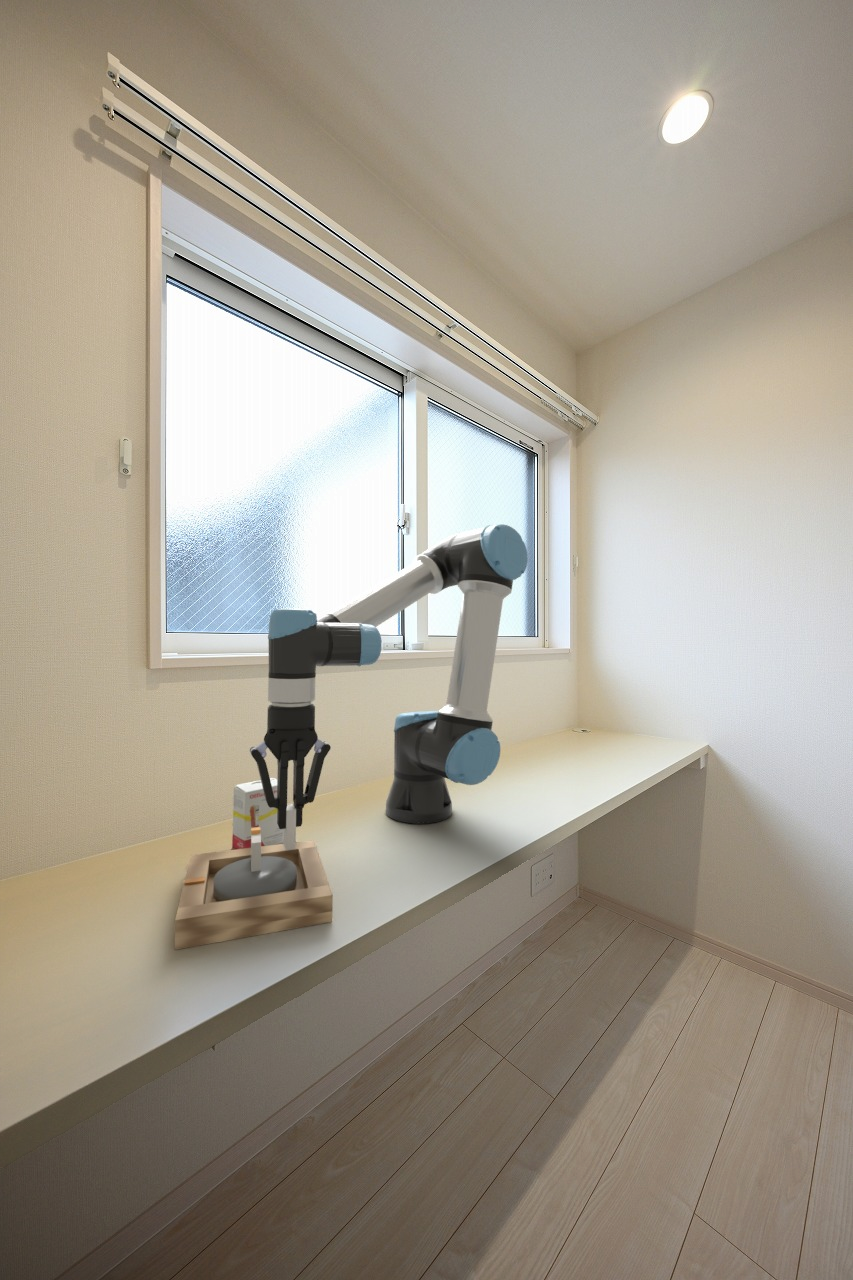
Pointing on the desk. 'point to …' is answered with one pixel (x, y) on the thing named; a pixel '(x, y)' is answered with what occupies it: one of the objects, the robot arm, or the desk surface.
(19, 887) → the desk surface
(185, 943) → the wooden tray
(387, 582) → the robot arm
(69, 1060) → the desk surface
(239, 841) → the ink box
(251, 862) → the dial
